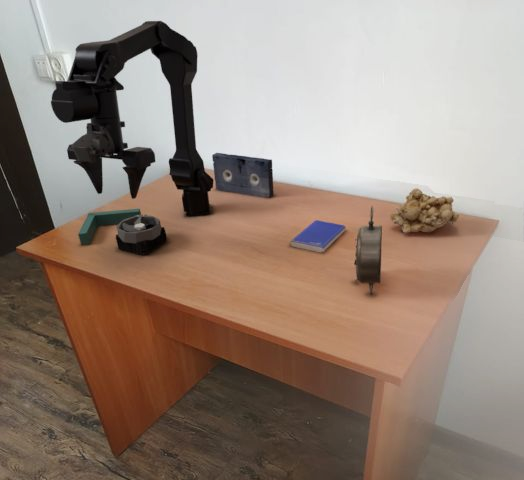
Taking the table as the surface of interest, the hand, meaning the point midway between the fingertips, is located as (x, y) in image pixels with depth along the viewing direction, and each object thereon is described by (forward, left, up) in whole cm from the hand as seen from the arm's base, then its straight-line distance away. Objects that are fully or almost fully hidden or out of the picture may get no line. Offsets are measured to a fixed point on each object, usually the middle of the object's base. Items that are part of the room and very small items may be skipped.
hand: (116, 195), depth 108 cm
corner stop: (+7, -15, -14) cm, 22 cm away
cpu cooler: (-2, -5, -15) cm, 15 cm away
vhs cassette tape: (-28, -34, -15) cm, 46 cm away
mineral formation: (-70, 0, -15) cm, 71 cm away
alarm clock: (-50, +22, -15) cm, 57 cm away
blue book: (-44, 0, -15) cm, 47 cm away
